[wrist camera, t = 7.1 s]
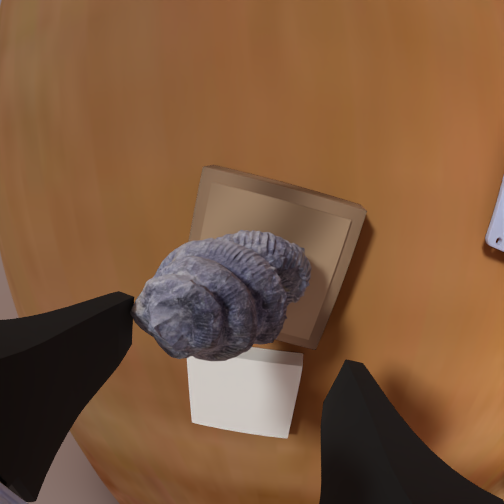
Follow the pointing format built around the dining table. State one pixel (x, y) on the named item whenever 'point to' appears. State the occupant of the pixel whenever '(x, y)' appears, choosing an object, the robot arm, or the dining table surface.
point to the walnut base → (285, 235)
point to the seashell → (222, 294)
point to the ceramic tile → (246, 391)
